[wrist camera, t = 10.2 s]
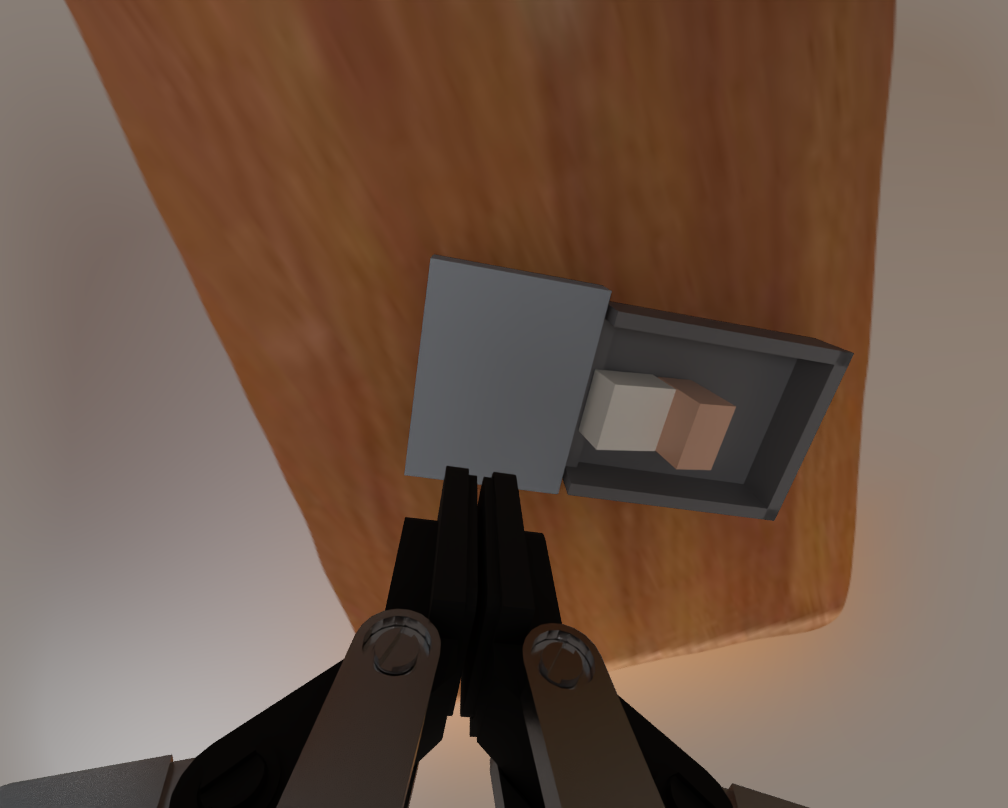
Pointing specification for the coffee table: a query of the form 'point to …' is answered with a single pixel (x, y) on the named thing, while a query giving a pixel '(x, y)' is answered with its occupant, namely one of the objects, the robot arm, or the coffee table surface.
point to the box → (730, 375)
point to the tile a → (625, 411)
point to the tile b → (693, 426)
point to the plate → (501, 371)
